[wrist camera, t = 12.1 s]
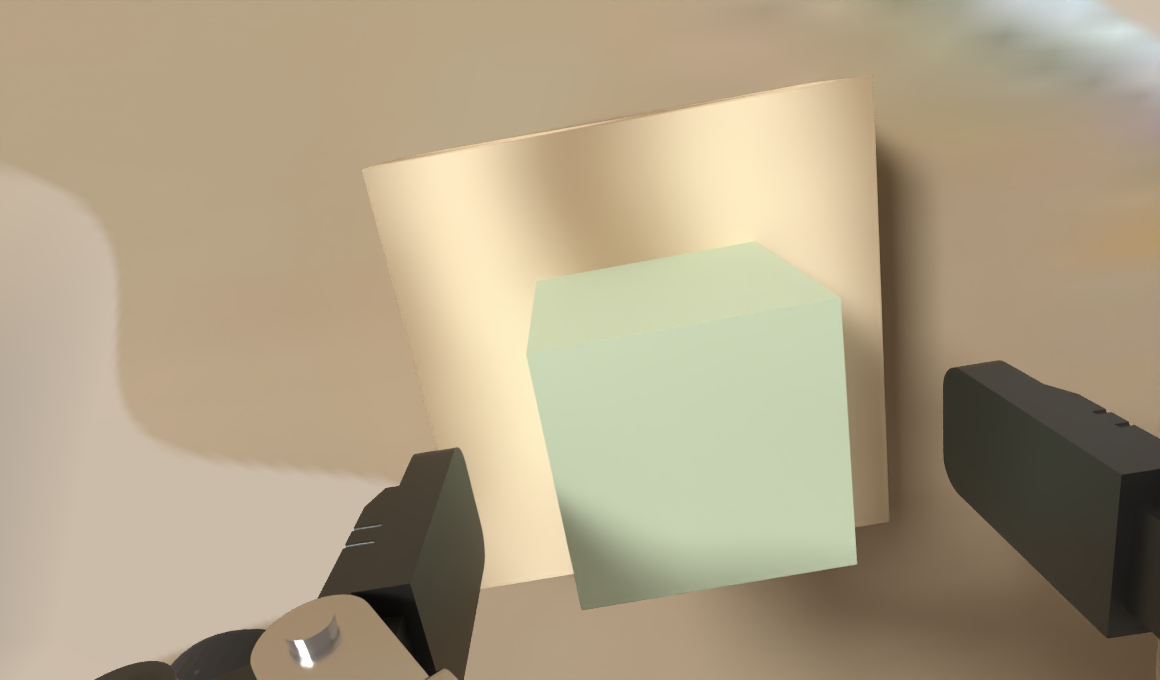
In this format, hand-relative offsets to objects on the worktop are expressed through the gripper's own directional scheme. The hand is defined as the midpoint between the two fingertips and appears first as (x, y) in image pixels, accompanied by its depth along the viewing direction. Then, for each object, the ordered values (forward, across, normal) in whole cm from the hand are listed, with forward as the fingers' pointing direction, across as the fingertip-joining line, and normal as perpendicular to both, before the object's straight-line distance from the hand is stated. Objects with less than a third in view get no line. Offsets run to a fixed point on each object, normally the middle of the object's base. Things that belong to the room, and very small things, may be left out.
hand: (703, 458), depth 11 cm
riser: (+9, 0, 0) cm, 9 cm away
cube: (+5, 0, 0) cm, 5 cm away
